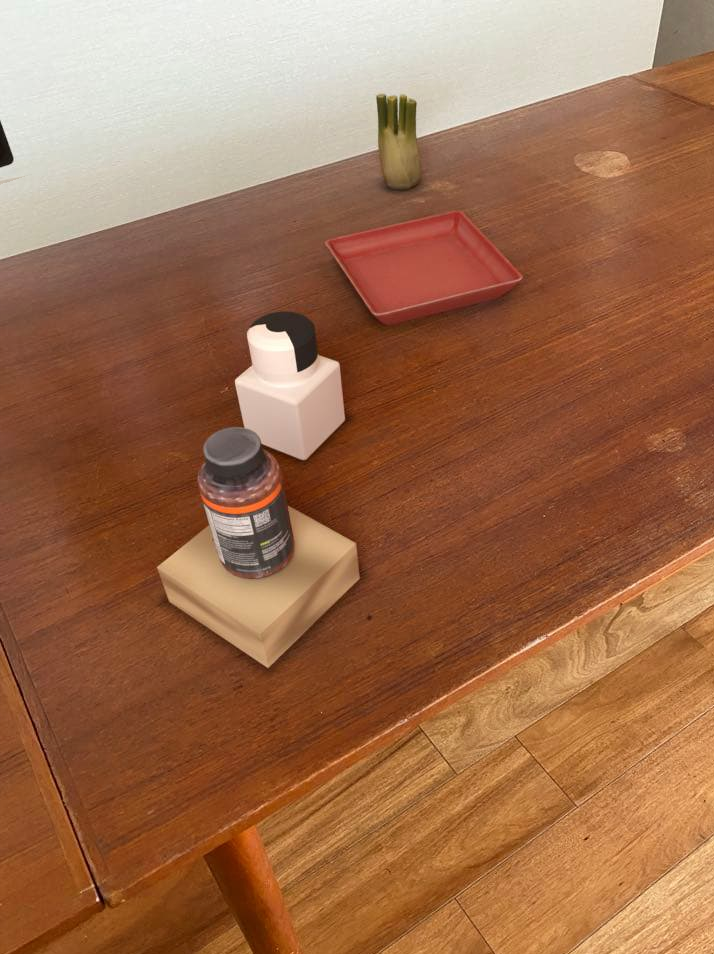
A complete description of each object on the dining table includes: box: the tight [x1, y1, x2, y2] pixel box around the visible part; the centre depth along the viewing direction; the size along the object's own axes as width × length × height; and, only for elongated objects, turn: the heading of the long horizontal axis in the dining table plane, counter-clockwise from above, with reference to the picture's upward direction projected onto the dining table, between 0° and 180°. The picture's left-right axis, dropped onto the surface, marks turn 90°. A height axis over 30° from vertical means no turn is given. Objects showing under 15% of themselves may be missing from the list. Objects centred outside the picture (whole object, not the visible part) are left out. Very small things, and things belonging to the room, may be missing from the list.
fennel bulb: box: [375, 93, 422, 192], centre depth 116 cm, size 6×5×12 cm
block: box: [156, 505, 361, 669], centre depth 69 cm, size 11×11×4 cm
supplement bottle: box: [197, 426, 294, 579], centre depth 63 cm, size 6×6×11 cm
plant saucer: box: [324, 210, 523, 326], centre depth 102 cm, size 18×18×3 cm
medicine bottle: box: [234, 310, 346, 461], centre depth 80 cm, size 7×7×12 cm
